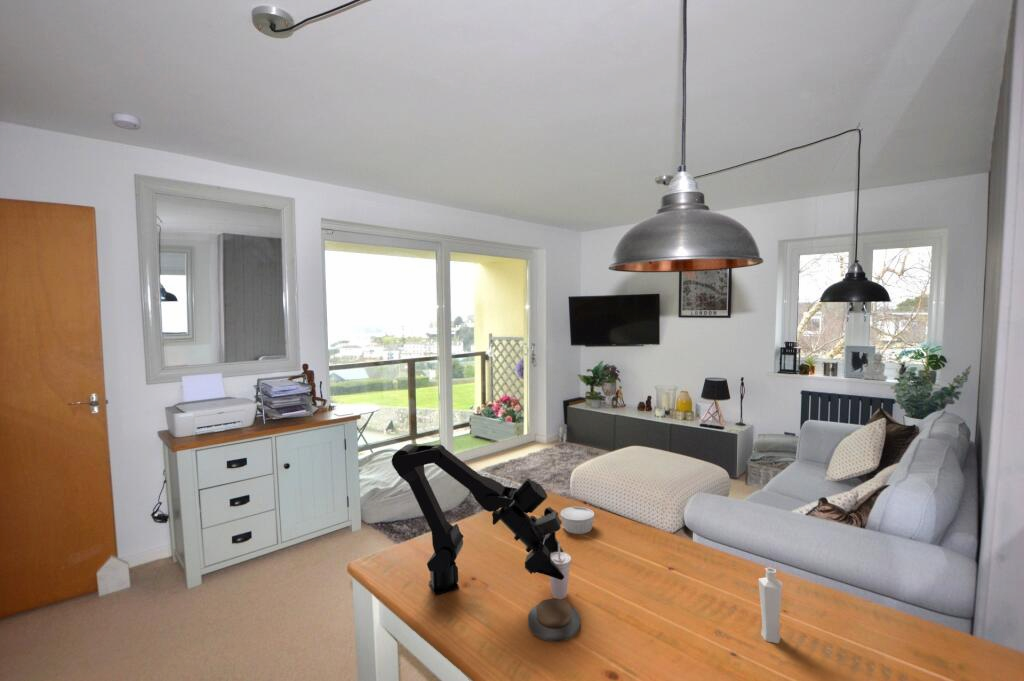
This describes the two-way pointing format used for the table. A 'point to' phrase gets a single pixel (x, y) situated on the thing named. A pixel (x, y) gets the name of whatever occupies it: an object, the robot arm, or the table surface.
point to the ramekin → (577, 519)
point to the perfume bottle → (770, 605)
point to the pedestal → (554, 620)
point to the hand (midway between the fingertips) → (564, 568)
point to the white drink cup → (563, 564)
